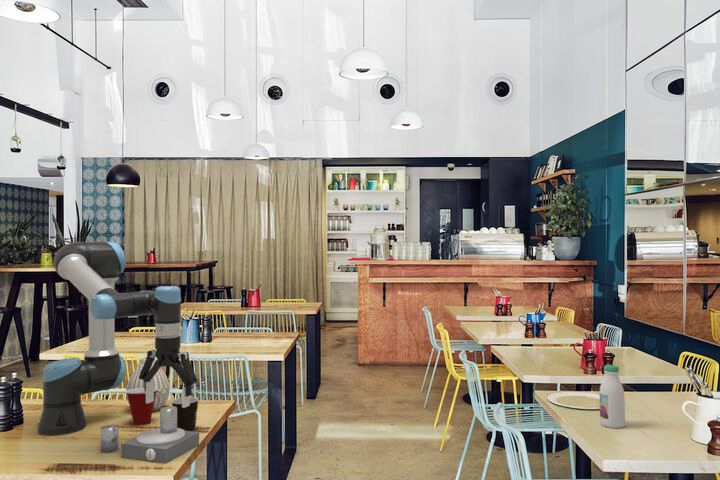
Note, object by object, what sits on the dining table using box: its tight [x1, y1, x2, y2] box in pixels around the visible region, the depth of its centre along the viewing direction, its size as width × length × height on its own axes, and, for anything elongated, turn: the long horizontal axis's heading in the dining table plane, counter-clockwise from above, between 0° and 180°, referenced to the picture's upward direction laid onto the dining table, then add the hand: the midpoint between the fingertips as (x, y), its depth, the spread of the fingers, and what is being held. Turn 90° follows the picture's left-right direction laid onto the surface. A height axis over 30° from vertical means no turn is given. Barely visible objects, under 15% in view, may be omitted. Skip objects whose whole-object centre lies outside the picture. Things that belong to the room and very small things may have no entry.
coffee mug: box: [171, 396, 199, 432], centre depth 196 cm, size 12×9×10 cm
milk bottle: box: [599, 364, 626, 429], centre depth 193 cm, size 8×8×20 cm
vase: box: [125, 356, 171, 412], centre depth 221 cm, size 16×16×20 cm
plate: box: [547, 391, 600, 411], centre depth 223 cm, size 25×25×1 cm
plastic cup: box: [125, 388, 158, 426], centre depth 204 cm, size 11×11×12 cm
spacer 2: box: [159, 405, 177, 434], centre depth 177 cm, size 5×5×7 cm
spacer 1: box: [100, 424, 120, 454], centre depth 176 cm, size 5×5×7 cm
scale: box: [120, 427, 200, 464], centre depth 174 cm, size 16×17×5 cm
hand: (167, 404), depth 178 cm, fingers open, 13 cm apart
